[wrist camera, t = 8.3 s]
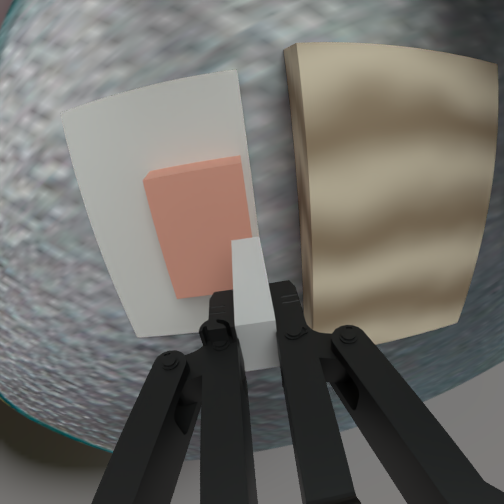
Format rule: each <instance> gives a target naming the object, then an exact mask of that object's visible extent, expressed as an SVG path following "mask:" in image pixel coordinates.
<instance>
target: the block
mask: <svg viewBox="0 0 504 504" xmlns="http://www.w3.org/2000/svg"><path fill="white" fill-rule="evenodd" d="M143 185H144V189H145V192H146V196H147V200H148V204H149V208H150V211H151V215H152V219H153V222H154V226H155V229H156V233H157V236H158V240H159V243H160V247H161V250H162V253H163V257H164V260H165V263H166V266H167V270H168V273H169V276H170V279H171V282H172V285H173V288H174V292H175V295H176V298H177V299H182V298H190V297H198V296H206V295H213V293H214V292H218V291H225V290H232V289H233V273H232V246H231V240H238V239H245V238H252V232H251V225H250V218H249V211H248V204H247V197H246V190H245V183H244V176H243V170H242V163H241V156H240V155H239V156H232V157H225V158H219V159H213V160H207V161H201V162H195V163H189V164H184V165H179V166H173V167H168V168H163V169H158V170H153V171H150V172H149V173H148V174H147V175H146V177H145V178H144V179H143Z"/></svg>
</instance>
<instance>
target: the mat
mask: <svg viewBox="0 0 504 504" xmlns="http://www.w3.org/2000/svg"><path fill="white" fill-rule="evenodd" d="M60 114H61V119H62V123H63V128H64V132H65V136H66V141H67V145H68V149H69V152H70V156H71V160H72V164H73V167H74V171H75V175H76V178H77V181H78V185H79V188H80V192H81V195H82V198H83V201H84V204H85V207H86V211H87V214H88V217H89V220H90V223H91V225H92V228H93V231H94V234H95V237H96V240H97V242H98V245H99V248H100V251H101V253H102V256H103V258H104V261H105V264H106V266H107V269H108V271H109V274H110V276H111V279H112V281H113V284H114V286H115V288H116V291H117V293H118V295H119V298H120V300H121V302H122V305H123V307H124V309H125V311H126V314H127V316H128V318H129V320H130V322H131V325H132V327H133V329H134V331H135V333H136V335H137V337H138V338H140V337H153V336H165V335H176V334H187V333H196V332H199V329H200V326H201V325H202V324H203V323H204V322H205V321H207V320H208V317H209V299H210V298H211V296H212V295H206V296H198V297H190V298H182V299H177V298H176V295H175V292H174V288H173V285H172V282H171V279H170V276H169V273H168V270H167V266H166V263H165V260H164V257H163V253H162V250H161V247H160V243H159V240H158V236H157V233H156V229H155V226H154V222H153V219H152V215H151V211H150V208H149V204H148V200H147V196H146V192H145V189H144V185H143V179H144V178H145V177H146V175H147V174H148V173H149V172H150V171H153V170H158V169H163V168H168V167H173V166H179V165H184V164H189V163H195V162H201V161H207V160H213V159H219V158H225V157H232V156H239V155H240V156H241V163H242V170H243V176H244V183H245V190H246V197H247V204H248V211H249V218H250V225H251V232H252V237H258V236H259V231H258V223H257V216H256V208H255V200H254V192H253V185H252V177H251V170H250V162H249V154H248V147H247V139H246V132H245V124H244V117H243V110H242V102H241V95H240V88H239V80H238V73H237V69H235V70H227V71H220V72H214V73H208V74H202V75H196V76H191V77H186V78H181V79H176V80H171V81H166V82H162V83H157V84H153V85H149V86H145V87H141V88H137V89H133V90H130V91H126V92H122V93H119V94H115V95H112V96H109V97H105V98H102V99H99V100H96V101H93V102H90V103H87V104H84V105H81V106H78V107H75V108H72V109H69V110H67V111H64V112H61V113H60Z"/></svg>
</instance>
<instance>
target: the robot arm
mask: <svg viewBox="0 0 504 504" xmlns="http://www.w3.org/2000/svg"><path fill="white" fill-rule="evenodd" d="M231 246H232V273H233V289H232V290H225V291H218V292H214V293H213V295H212V296H211V298H210V299H209V317H208V320H207V321H205V322H204V323H203V324H202V325H201V326H200V329H199V334H200V337H201V340H202V343H203V347H201V348H200V349H199V350H197V351H195V352H193V353H190V354H187V355H184V354H183V353H181V352H179V351H167V352H164V353H162V354H161V355H159V356H158V357H157V359H156V360H155V362H154V364H153V366H152V368H151V370H150V372H149V374H148V376H147V379H146V381H145V383H144V385H143V387H142V389H141V391H140V394H139V396H138V398H137V400H136V402H135V404H134V407H133V409H132V411H131V413H130V415H129V418H128V420H127V422H126V424H125V427H124V429H123V431H122V433H121V436H120V438H119V440H118V442H117V445H116V447H115V449H114V452H113V454H112V456H111V459H110V461H109V463H108V465H107V468H106V470H105V472H104V475H103V477H102V480H101V482H100V484H99V487H98V489H97V492H96V494H95V496H94V499H93V501H92V504H170V502H171V499H172V496H173V493H174V490H175V486H176V483H177V480H178V476H179V474H180V471H181V467H182V464H183V461H184V458H185V455H186V452H187V449H188V446H189V442H190V439H191V436H192V433H193V430H194V427H195V424H196V420H197V417H198V414H199V411H200V408H201V445H200V504H258V500H257V490H256V479H255V469H254V458H253V447H252V436H251V425H250V413H249V401H248V390H247V380H246V376H245V371H252V370H260V369H267V368H273V367H280V368H281V376H282V386H283V388H284V394H285V400H286V406H287V412H288V418H289V424H290V430H291V436H292V442H293V448H294V454H295V460H296V466H297V472H298V478H299V484H300V490H301V497H302V503H303V504H361V502H360V501H359V499H358V498H357V497H356V494H355V491H354V487H353V482H352V478H351V474H350V471H349V466H348V463H347V459H346V455H345V451H344V447H343V443H342V439H341V436H340V432H339V428H338V424H337V421H336V417H335V413H334V410H333V406H332V402H331V399H330V395H329V391H328V388H327V384H326V382H330V384H331V386H332V387H333V389H334V390H335V392H336V394H337V395H338V397H339V398H340V400H341V401H342V403H343V404H344V406H345V408H346V409H347V411H348V412H349V414H350V415H351V417H352V418H353V420H354V422H355V423H356V425H357V426H358V428H359V429H360V431H361V432H362V434H363V436H364V437H365V438H366V440H367V442H368V443H369V445H370V446H371V448H372V449H373V451H374V452H375V454H376V456H377V457H378V459H379V460H380V462H381V463H382V465H383V466H384V468H385V469H386V471H387V472H388V474H389V476H390V477H391V479H392V480H393V482H394V484H395V485H396V487H397V488H398V490H399V491H400V493H401V494H402V496H403V497H404V499H405V500H406V502H407V504H504V492H502V491H501V490H499V489H497V488H495V487H493V486H492V485H490V484H488V483H486V482H485V481H484V480H483V479H482V477H481V476H480V475H479V473H478V472H477V471H476V469H475V468H474V467H473V465H472V464H471V463H470V462H469V460H468V459H467V458H466V456H465V455H464V454H463V453H462V451H461V450H460V449H459V447H458V446H457V445H456V443H454V441H453V440H452V438H451V437H450V436H449V435H448V433H447V432H446V431H445V430H444V428H443V427H442V426H441V424H440V423H439V422H438V421H437V419H436V418H435V417H434V416H433V414H432V413H431V412H430V411H429V410H428V408H427V407H426V406H425V404H424V403H423V402H422V401H421V400H420V398H419V397H418V396H417V395H416V393H415V392H414V391H413V390H412V389H411V387H410V386H409V385H408V384H407V382H406V381H405V380H404V379H403V378H402V376H401V375H400V374H399V373H398V372H397V370H396V369H395V368H394V367H393V365H392V364H391V363H390V362H389V361H388V360H387V358H386V357H385V356H384V355H383V354H382V352H381V351H380V350H379V349H378V348H377V346H376V345H375V344H374V343H373V342H372V340H371V339H370V338H369V337H368V336H367V335H366V333H365V332H364V331H363V330H362V329H360V328H359V327H357V326H354V325H343V326H340V327H338V328H336V329H335V330H334V332H333V333H321V332H317V331H314V330H312V329H311V328H310V327H309V326H308V325H307V323H306V321H305V317H304V314H303V311H302V307H301V304H300V301H299V297H298V294H297V291H296V287H295V286H294V285H293V284H292V283H291V282H290V281H289V280H288V281H282V282H275V283H268V278H267V273H266V268H265V263H264V258H263V253H262V248H261V243H260V238H259V236H258V237H252V238H245V239H238V240H231Z"/></svg>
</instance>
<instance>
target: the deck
mask: <svg viewBox="0 0 504 504" xmlns="http://www.w3.org/2000/svg"><path fill="white" fill-rule="evenodd" d="M284 57H285V66H286V74H287V83H288V92H289V101H290V110H291V120H292V131H293V142H294V153H295V165H296V178H297V191H298V205H299V221H300V238H301V257H302V279H303V306H304V317H305V321H306V323H307V325H308V326H309V327H310V328H311V329H312V330H314V331H317V332H321V333H333V332H334V330H335V329H336V328H338V327H340V326H343V325H354V326H357V327H359V328H360V329H362V330H363V331H364V332H365V333H366V335H367V336H368V337H369V338H370V339H371V340H372V342H373V343H374V344H375V345H377V344H381V343H385V342H389V341H393V340H397V339H401V338H405V337H409V336H413V335H417V334H421V333H424V332H428V331H431V330H435V329H438V328H442V327H445V326H449V325H452V324H455V323H458V320H459V317H460V314H461V311H462V308H463V305H464V302H465V299H466V296H467V293H468V290H469V286H470V283H471V280H472V276H473V273H474V269H475V265H476V262H477V258H478V254H479V250H480V246H481V241H482V237H483V232H484V228H485V223H486V218H487V213H488V207H489V201H490V195H491V189H492V182H493V174H494V166H495V156H496V145H497V130H498V64H495V63H491V62H487V61H483V60H479V59H475V58H470V57H466V56H461V55H456V54H451V53H445V52H439V51H433V50H427V49H420V48H412V47H403V46H394V45H382V44H367V43H341V42H313V43H295V44H293V45H292V46H290V47H288V48H286V49H284Z"/></svg>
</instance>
